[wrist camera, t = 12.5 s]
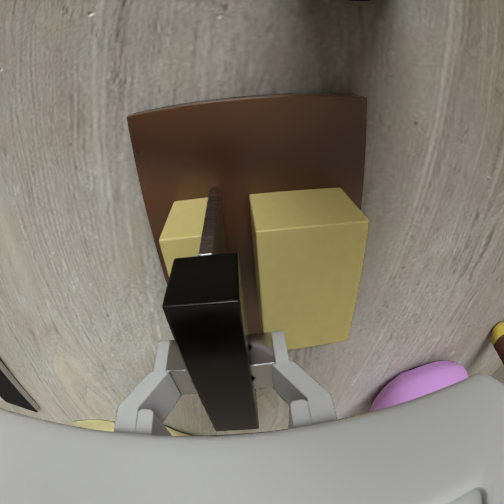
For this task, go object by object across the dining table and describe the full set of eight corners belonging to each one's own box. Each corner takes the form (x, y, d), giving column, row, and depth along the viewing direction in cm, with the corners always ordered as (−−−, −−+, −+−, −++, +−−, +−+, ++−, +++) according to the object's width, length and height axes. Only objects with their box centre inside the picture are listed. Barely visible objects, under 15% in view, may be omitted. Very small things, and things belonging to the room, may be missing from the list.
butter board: (135, 112, 14) (126, 116, 13) (355, 94, 14) (367, 97, 13) (192, 342, 24) (191, 357, 22) (335, 326, 24) (340, 340, 23)
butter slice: (173, 200, 15) (157, 240, 12) (211, 196, 15) (205, 235, 12) (199, 311, 20) (195, 358, 16) (228, 308, 20) (229, 356, 16)
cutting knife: (193, 190, 15) (160, 306, 8) (235, 185, 15) (240, 301, 8) (217, 316, 20) (215, 431, 13) (249, 313, 20) (259, 429, 13)
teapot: (478, 340, 30) (516, 406, 20) (436, 394, 37) (461, 452, 27) (351, 368, 28) (383, 469, 18) (323, 421, 35) (340, 495, 26)
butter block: (248, 193, 15) (255, 231, 12) (340, 186, 16) (370, 220, 12) (258, 306, 20) (264, 353, 17) (330, 297, 20) (347, 341, 17)
